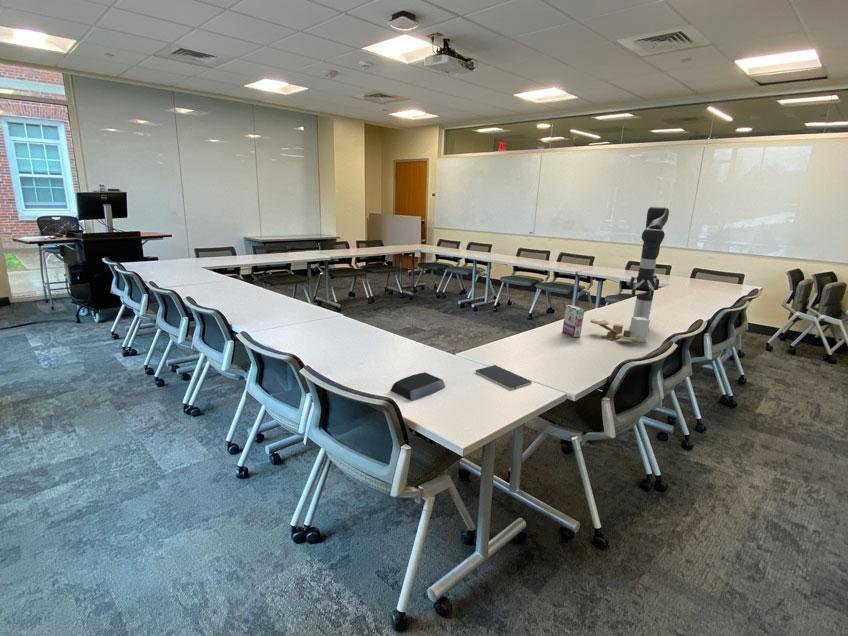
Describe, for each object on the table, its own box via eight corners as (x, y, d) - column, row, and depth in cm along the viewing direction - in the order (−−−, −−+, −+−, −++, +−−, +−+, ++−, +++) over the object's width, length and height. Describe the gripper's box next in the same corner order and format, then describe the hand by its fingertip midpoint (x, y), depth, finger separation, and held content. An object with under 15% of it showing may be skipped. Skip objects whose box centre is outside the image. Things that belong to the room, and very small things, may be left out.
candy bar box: (580, 337, 256) (585, 309, 252) (573, 337, 254) (577, 309, 250) (569, 331, 266) (573, 304, 262) (561, 331, 265) (565, 304, 260)
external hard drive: (446, 389, 180) (447, 379, 179) (412, 402, 167) (412, 392, 166) (423, 378, 189) (424, 369, 188) (389, 391, 176) (389, 381, 175)
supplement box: (646, 342, 254) (650, 320, 251) (633, 341, 254) (637, 319, 251) (640, 337, 261) (644, 317, 258) (627, 337, 261) (631, 316, 258)
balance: (585, 332, 266) (587, 320, 264) (595, 330, 272) (597, 318, 270) (628, 346, 245) (631, 333, 243) (638, 343, 250) (641, 330, 248)
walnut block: (612, 331, 272) (614, 323, 270) (621, 332, 270) (623, 324, 268) (612, 333, 267) (613, 325, 266) (621, 334, 265) (622, 326, 264)
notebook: (531, 384, 189) (494, 368, 205) (531, 381, 189) (495, 364, 205) (510, 391, 181) (474, 373, 198) (511, 387, 181) (474, 370, 197)
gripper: (659, 266, 243) (653, 296, 247) (631, 264, 245) (626, 293, 250) (663, 269, 236) (657, 299, 240) (634, 267, 238) (629, 296, 243)
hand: (641, 296), depth 245 cm, fingers open, 8 cm apart
